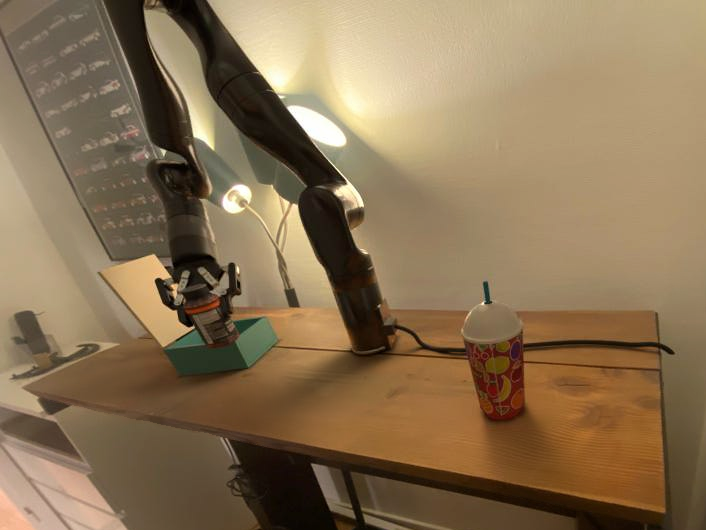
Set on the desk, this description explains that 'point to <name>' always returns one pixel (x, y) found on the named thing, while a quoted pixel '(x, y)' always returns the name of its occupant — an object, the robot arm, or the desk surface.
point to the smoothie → (495, 356)
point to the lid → (145, 297)
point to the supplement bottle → (208, 317)
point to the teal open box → (223, 349)
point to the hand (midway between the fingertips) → (208, 320)
